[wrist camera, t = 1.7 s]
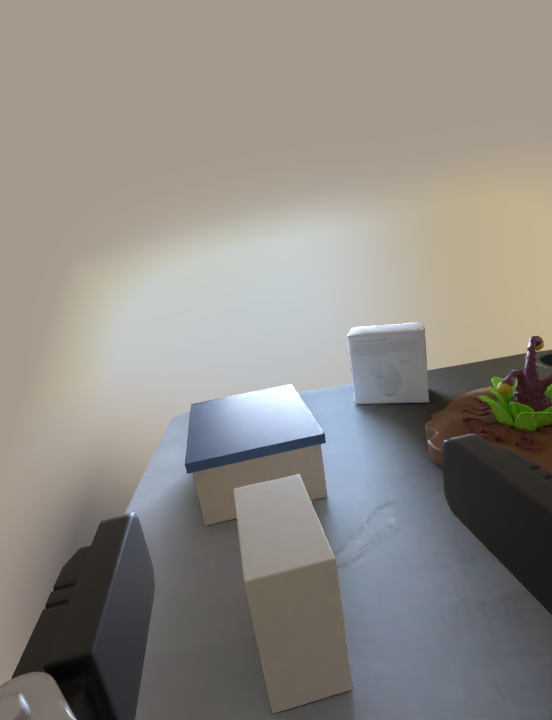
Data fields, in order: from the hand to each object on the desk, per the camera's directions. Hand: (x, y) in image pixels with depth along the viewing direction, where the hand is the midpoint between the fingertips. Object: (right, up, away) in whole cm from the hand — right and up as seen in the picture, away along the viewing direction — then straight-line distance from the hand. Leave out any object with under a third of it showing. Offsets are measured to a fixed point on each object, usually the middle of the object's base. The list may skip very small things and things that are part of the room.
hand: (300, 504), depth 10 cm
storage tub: (-3, -9, +34) cm, 36 cm away
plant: (+27, -5, +32) cm, 42 cm away
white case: (+1, -14, +15) cm, 21 cm away
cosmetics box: (+17, -2, +50) cm, 52 cm away
